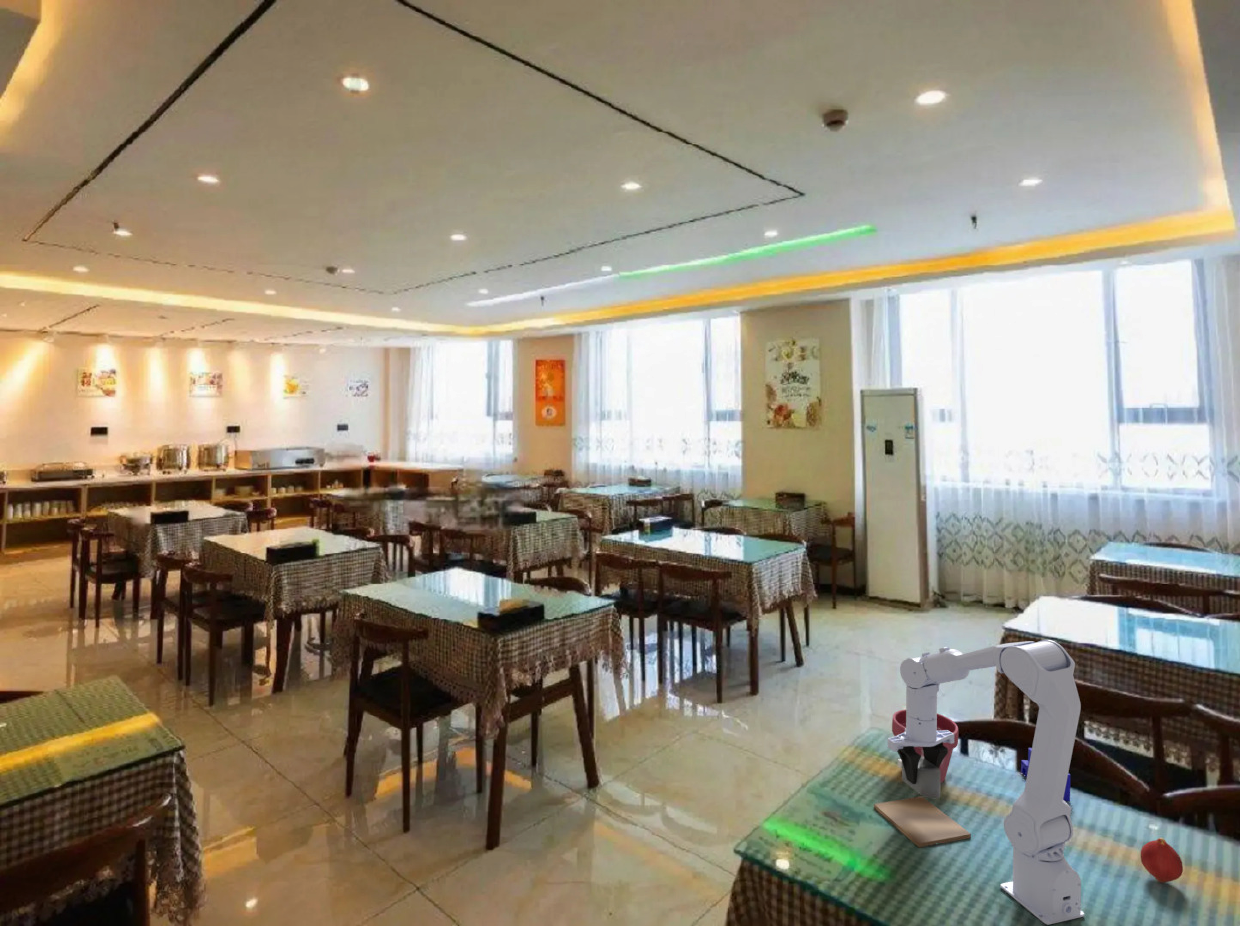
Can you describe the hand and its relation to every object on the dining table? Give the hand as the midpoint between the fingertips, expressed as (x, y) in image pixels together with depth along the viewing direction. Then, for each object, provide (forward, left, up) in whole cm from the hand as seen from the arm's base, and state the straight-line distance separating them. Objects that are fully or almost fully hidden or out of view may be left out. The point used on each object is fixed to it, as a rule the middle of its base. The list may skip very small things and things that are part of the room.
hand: (920, 779), depth 133 cm
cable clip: (+5, -37, -9) cm, 38 cm away
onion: (-26, -29, -9) cm, 40 cm away
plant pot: (+16, -14, -9) cm, 23 cm away
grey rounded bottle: (0, 0, -1) cm, 1 cm away
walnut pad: (0, 0, -9) cm, 9 cm away
